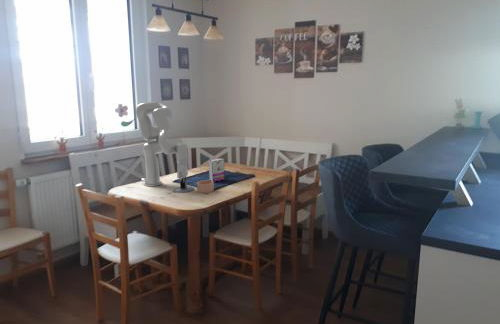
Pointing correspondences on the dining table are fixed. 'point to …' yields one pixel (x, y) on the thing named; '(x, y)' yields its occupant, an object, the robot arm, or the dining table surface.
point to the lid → (186, 189)
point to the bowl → (205, 186)
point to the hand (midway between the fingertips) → (183, 186)
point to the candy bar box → (216, 170)
